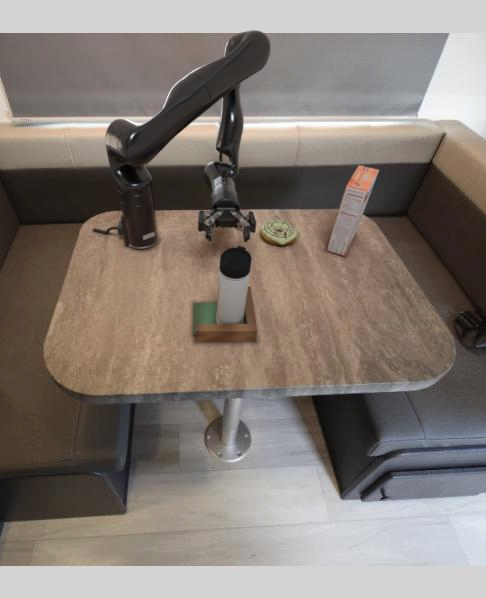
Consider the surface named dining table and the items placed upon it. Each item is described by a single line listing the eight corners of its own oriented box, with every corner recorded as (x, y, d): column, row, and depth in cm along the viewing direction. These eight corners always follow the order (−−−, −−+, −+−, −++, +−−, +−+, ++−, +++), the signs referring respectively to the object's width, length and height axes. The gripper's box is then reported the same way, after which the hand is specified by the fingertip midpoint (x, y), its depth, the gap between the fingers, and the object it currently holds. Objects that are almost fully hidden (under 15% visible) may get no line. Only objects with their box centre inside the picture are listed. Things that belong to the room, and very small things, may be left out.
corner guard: (193, 342, 79) (193, 330, 76) (193, 297, 88) (193, 286, 86) (255, 342, 79) (257, 330, 76) (249, 297, 89) (250, 286, 86)
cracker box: (337, 227, 112) (358, 163, 97) (356, 233, 110) (381, 169, 95) (324, 250, 103) (345, 184, 88) (344, 257, 101) (370, 190, 86)
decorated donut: (285, 252, 102) (288, 242, 100) (253, 239, 106) (255, 229, 104) (300, 235, 108) (303, 225, 106) (270, 223, 112) (271, 213, 110)
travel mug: (246, 317, 84) (257, 250, 70) (236, 336, 80) (245, 269, 65) (222, 308, 86) (227, 241, 71) (211, 327, 81) (214, 260, 67)
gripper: (198, 189, 91) (198, 224, 79) (252, 190, 91) (260, 225, 80) (197, 214, 96) (197, 251, 85) (249, 215, 97) (256, 252, 85)
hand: (228, 238), depth 82 cm, fingers open, 8 cm apart
